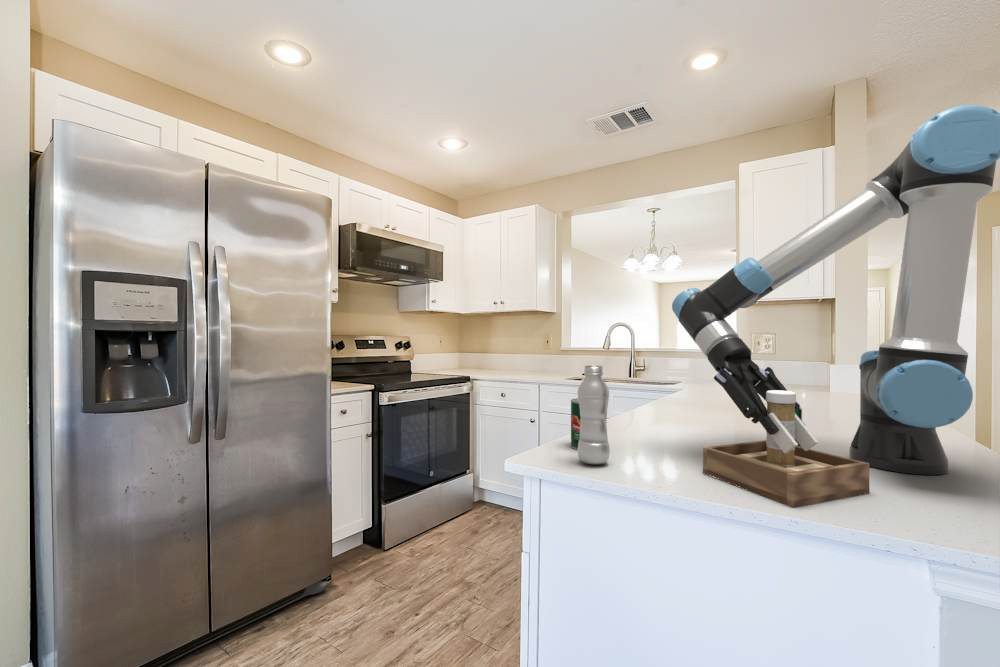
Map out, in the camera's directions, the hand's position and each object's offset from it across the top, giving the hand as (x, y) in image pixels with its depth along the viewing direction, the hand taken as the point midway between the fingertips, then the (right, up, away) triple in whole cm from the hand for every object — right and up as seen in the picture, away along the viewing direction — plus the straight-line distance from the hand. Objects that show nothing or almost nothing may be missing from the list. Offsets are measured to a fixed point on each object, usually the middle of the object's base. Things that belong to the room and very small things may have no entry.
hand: (801, 447), depth 78 cm
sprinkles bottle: (-1, -4, +4) cm, 6 cm away
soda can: (+9, -7, +18) cm, 22 cm away
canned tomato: (-31, -7, +29) cm, 43 cm away
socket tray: (-1, -7, +4) cm, 8 cm away
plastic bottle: (-33, -7, +15) cm, 37 cm away
